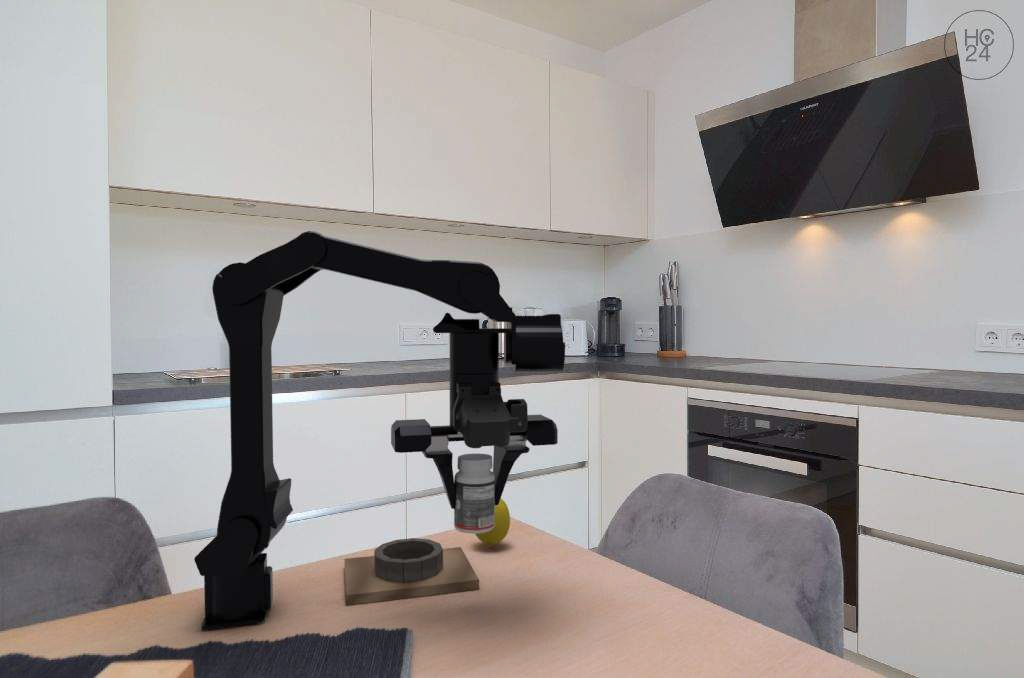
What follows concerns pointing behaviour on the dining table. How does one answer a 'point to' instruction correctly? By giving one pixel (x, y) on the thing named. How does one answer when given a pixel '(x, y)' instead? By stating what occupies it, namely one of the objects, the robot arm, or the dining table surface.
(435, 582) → the socket board
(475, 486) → the pill bottle
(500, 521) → the lemon
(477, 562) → the dining table surface
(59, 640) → the dining table surface
